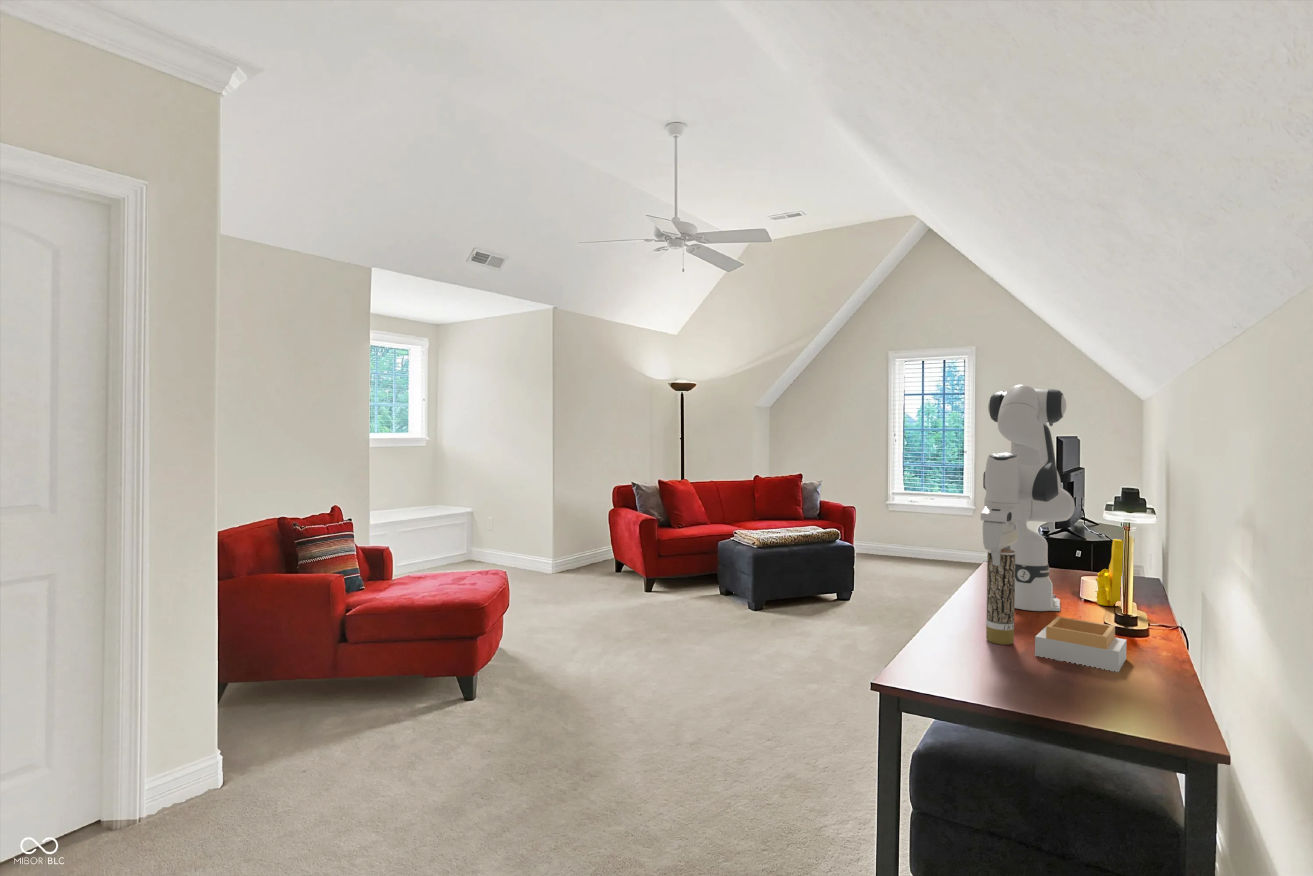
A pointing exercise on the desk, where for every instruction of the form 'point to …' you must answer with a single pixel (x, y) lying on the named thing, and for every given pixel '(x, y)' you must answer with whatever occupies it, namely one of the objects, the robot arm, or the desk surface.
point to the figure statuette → (1111, 577)
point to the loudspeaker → (1081, 643)
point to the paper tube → (1000, 598)
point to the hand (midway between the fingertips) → (1001, 563)
